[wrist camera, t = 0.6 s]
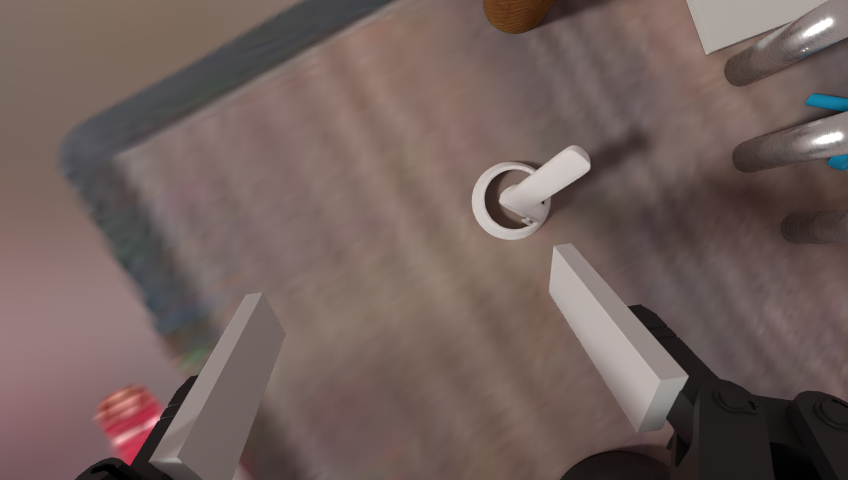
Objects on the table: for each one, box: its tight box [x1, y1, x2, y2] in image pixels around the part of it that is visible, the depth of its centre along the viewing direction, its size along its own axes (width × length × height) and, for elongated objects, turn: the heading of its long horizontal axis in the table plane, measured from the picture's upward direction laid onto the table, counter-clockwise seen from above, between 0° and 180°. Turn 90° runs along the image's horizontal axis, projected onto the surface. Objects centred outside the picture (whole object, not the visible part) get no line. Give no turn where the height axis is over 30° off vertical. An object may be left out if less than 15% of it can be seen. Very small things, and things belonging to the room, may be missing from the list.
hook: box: [472, 145, 590, 240], centre depth 28 cm, size 8×12×7 cm
